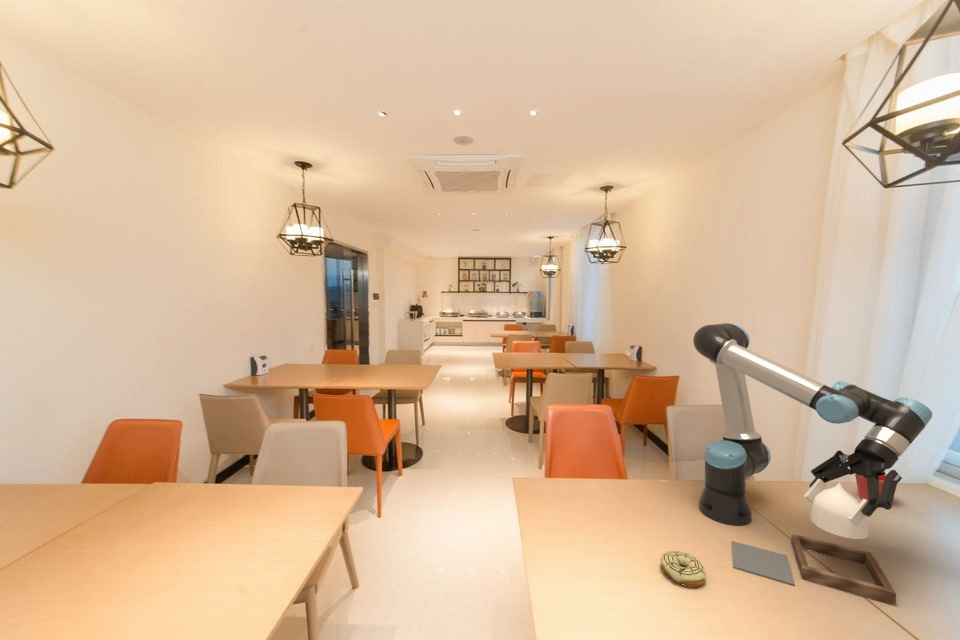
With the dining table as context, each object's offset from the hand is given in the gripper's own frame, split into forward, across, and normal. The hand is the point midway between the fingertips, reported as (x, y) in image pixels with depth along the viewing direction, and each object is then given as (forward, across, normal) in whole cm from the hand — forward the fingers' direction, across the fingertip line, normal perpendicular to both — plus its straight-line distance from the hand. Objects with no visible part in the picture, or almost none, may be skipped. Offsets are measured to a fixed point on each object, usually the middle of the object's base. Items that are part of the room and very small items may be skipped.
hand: (828, 510), depth 100 cm
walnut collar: (+10, 0, -14) cm, 17 cm away
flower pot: (-26, +28, -50) cm, 63 cm away
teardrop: (+1, 0, -6) cm, 6 cm away
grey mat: (+22, +6, -2) cm, 23 cm away
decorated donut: (+39, +6, +15) cm, 42 cm away
